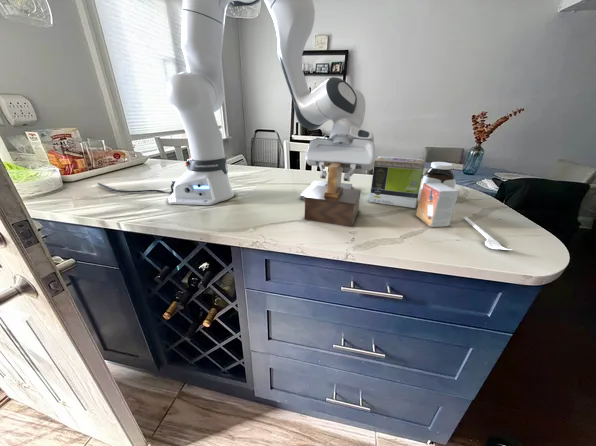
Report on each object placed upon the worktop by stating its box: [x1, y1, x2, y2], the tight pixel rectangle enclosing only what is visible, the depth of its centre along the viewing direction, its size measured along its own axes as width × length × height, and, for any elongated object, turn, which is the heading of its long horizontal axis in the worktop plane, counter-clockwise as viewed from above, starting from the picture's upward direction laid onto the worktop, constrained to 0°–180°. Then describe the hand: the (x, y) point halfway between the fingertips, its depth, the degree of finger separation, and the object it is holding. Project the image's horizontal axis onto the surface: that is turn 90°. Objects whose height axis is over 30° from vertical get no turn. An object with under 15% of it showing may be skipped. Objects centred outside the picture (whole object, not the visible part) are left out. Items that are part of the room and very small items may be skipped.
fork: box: [463, 216, 514, 251], centre depth 63 cm, size 3×20×2 cm, turn 170°
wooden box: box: [304, 185, 362, 227], centre depth 74 cm, size 14×12×7 cm
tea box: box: [369, 155, 425, 209], centre depth 83 cm, size 15×10×15 cm, turn 65°
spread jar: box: [421, 161, 457, 189], centre depth 92 cm, size 12×11×12 cm
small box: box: [415, 183, 460, 228], centre depth 69 cm, size 8×6×10 cm
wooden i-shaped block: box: [324, 163, 343, 198], centre depth 70 cm, size 4×7×9 cm, turn 159°
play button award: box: [300, 180, 353, 201], centre depth 94 cm, size 16×2×20 cm
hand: (334, 178), depth 70 cm, fingers open, 5 cm apart
